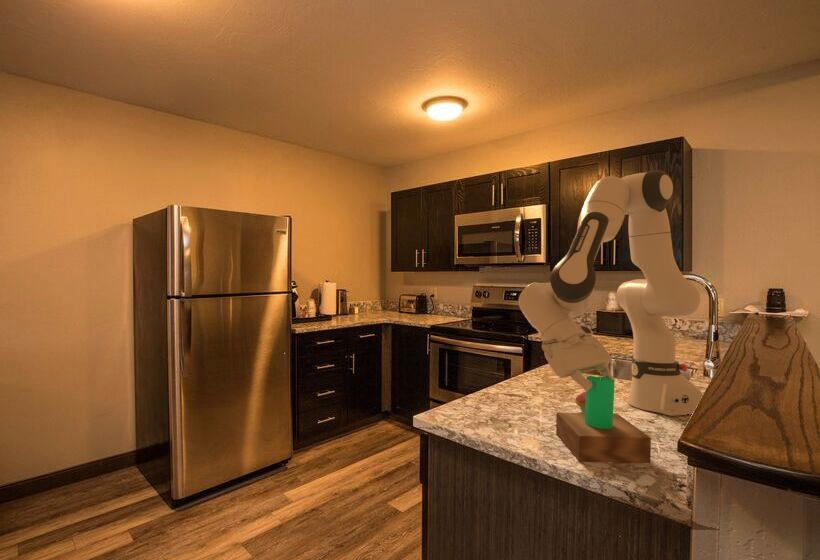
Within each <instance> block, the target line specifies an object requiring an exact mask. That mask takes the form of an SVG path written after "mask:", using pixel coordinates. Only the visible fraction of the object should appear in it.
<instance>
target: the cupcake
mask: <svg viewBox="0 0 820 560" xmlns="http://www.w3.org/2000/svg"><path fill="white" fill-rule="evenodd" d="M575 403H576V405H577V406H578V407H579V408H580V411H581V413H585V405H586V391H584V392H582V393H579V394H578V395H577V396H576V397H575Z"/></svg>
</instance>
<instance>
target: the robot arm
mask: <svg viewBox="0 0 820 560" xmlns="http://www.w3.org/2000/svg"><path fill="white" fill-rule="evenodd" d="M673 195H674V183H673V179H672V177H671V176H670V175H669V173H667V172H666V171H664V170H660V169H659V170H658V169H657V170H654V169H653V170H648V171H646V172H639V173H635V174H634V173H633V174H629V175H625V176H623V177H618V176H612V175H609V176H605V177H602V178H600V179H598V180H596V182H595V183H594V185H593V186H592V188H591V190H590V191H589V193H588V195H587V197H586V198H585V201H584V203H583V205H582V208H581V210H580V213H579V217H578V221H577V230H576V233H575V234H574V235H575V236H574V238H573V240H572V242H571V245H570V248H569V250H568V252H567V253H566V255H565V256H564V257H563V258H562V259H561V260H560V261H559V262H557V264H556V265H555V266H554V267H553V269H552V270H551V272H550V276H549V281H550V282H542V283H541V282H537V281H536V282H532V283H529V284H527V285H526V286H525V287H524V288H523V290H522V291H521V292H520V294H519V296H518V306H519V309H520V311H521V312H522V315H523V316H524V317H525V318H526V320H527V321H528V323H529V324H530V325H531V327H532V328H534V329H536V331H537V332H538V335H539V337H540V339H541V340H542V343H541V349H542V351H543V352H544V354H543V355H544V357H545V359H546V361H547V362H548V364H549V366H550V368H551V369H552V371H553V372H554V373H555V375H556V376H558V377H559V378H561V379H564V378H568V377H570V378H571V380H573V381H574V382H575V383H577V384H578V385H580V386H581V387H582V388H583V390H584V392H586V391H589V390H591V389H593V388H594V385H593V384H592V382H591V381H590V380H587V377H585V376H584V375H583V373H587V372H591V371H595V370H597V372H598V373H600V372H601V377H606V378H608V379H610V380H614V382H615V380H616V379H615V378H614V377H613V376H612V374H611V371H610V368H609V366H608V365H609V364H610V363H611V362H612V357H611V354H610V353H609V352H608V350H607V349H606V348H605V346H604V345H603V344H602V343H601V341H599V339H598V338H597V337H596V336H593V335H594V332H593V330H592V329H591V328H590V327H588V326H585V325H581V324H579V323H577V322H574V320H573V319H574V318H577V317H579V316H582V315H584V314H586V313H587V312H588V311H589V310H590V309H591V308H592V305H593V303H594V297H595V296H594V294H595V292H594V291H595V286H596V271H595V265H594V264H595V260H596V257H597V256H598V252H599V250H600V247H601V246H602V245H601V244H602V243H607V242H611V241H612V240H614V239H615V237H616V236H617V234H618V233H619V231H620V229H621V227H622V225H623V222H624V220H625V216H626V215H628V240H629V241H628V242H629V250H630V252H629V253H630V260H631V262H632V264H634V266H636V267H638V268H639V270H640V271H641V272H642V274H643V276H644V278H645V279H644V278H639V279H637V278H636V279H631V280H629V281H625V282H622V283H621V284H620V285H619V287H618V288H617V291H616V295H615V296H616V301H617V304H618V305H619V307H620V308H621V309H622V310H624V312H625V314H626V315H627V318H628V320H629V323H630V326H631V330H632V336H633V337H632V338H633V356H632V358H631V375H632V377H631V384H630V390H629V393H628V396H627V399H626V403H627V404H628V405H630V406H631V407H635V408H636V409H640V410H644V411H647V412H648V411H649V412H653V413H658V414H662V415H666V416H671V417H672V416H690V415H691V414H692V413H693V411H694V409H695V408H696V406H697V404H698V402H699V401H700V399H701V397H703V393H702V391H701V389H700V388H699V387H698V386H696V384H694V383H693V382H692V381H690V380H689V379H687V378H686V377H685V376H684V375H682V372H681V371H683V372H685V373H686V372H688V371H689V368H690V367H689V366H688V365H687V364H685V363H679V362H677V361H676V336H675V335H674V333H673V332H672V331H671V330H670V329H669V328H668V327H667V326H666V324H665V323H664V322H665V321H664V320H663V317H667V318H668V317H670V318H675V317H676V318H678V317H686V316H691V315H692V314H694V313H695V312H697V310H698V309H699V306H700V302H701V296H700V295H701V294H700V292H699V290H698V288H697V287H696V285H695V284H693V283H691V282H690V281H689V280H688V279H687V278H686V277H685V276H684V275H683V273H682V272H681V271H680V268H679V267H678V264H677V262H676V259H675V256H674V249H673V242H672V233H671V225H670V219H669V214H668V211H667V208H666V207H667V205H668V204H670V202H671V200H672V199H673ZM687 414H689V415H687ZM691 416H692V415H691Z"/></svg>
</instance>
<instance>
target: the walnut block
mask: <svg viewBox="0 0 820 560" xmlns="http://www.w3.org/2000/svg"><path fill="white" fill-rule="evenodd" d="M555 420H556V421H555V422H556V425H555V426H556V427H555V435H556V436H557V437H558V439H559V438H560V439H561V440H560V439H559V440H560V441H561V443H562V444H565V445H564V446H565V447H566V448H567V449H568V451H569V450H570V451H571V452H570V451H569V452H570V453H571V454H572V455H573V457H574V456H575V457H576V458H575V457H574V458H575V459H576V460H577V462H579V463H606V462H615V463H614V464H641V463H650V464H651V450H652V449H651V447H652V446H651V445H652V438H651V437H650V436H649V435H648V434H647V433H645V432H643V431H642V430H641V429H639V428H638V427H637V426H635V425H633V423H631V422H630V421H628V420H627V419H625V418H624V417H623V416H621V415H619V414H618V413H613V427H612V428H610V429H601V428H595V427H592V426H589V425H587V424H586V423H585V413H582V412H560V411H558V412H556V419H555ZM580 461H581V462H580Z"/></svg>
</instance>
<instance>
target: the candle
mask: <svg viewBox="0 0 820 560" xmlns="http://www.w3.org/2000/svg"><path fill="white" fill-rule="evenodd" d="M586 379H587V380H590V381H591V382H592V384H593V385H594V388H593V389H591V390H589V391H585V392H586V405H585V423H586V424H587V425H589V426H592V427H595V428H601V429H610V428H612V427H613V414H614V406H615V405H614V404H615V403H614V400H615V381H614V380H610V379H608V378H606V377H603V376H602V374H601V372H600V374H599V376H594V375H587V376H586Z"/></svg>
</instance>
